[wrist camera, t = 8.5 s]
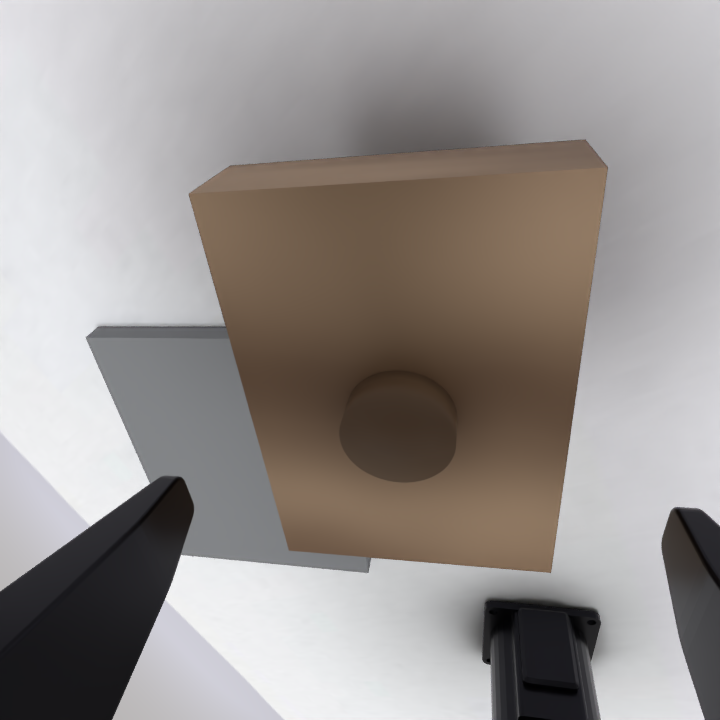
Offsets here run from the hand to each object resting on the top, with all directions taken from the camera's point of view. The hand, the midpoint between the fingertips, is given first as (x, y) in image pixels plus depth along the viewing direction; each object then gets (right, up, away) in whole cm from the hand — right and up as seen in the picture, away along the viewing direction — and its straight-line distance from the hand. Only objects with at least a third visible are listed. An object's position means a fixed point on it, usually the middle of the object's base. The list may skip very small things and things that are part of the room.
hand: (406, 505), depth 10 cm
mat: (-7, -2, +19) cm, 20 cm away
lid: (0, +3, +3) cm, 4 cm away
